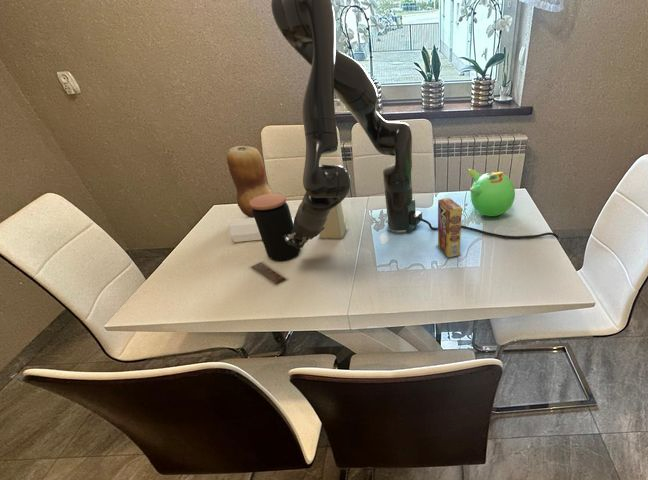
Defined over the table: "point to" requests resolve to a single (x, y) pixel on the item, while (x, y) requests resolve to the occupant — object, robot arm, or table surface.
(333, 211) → the beige tall block
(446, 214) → the candy box
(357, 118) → the robot arm
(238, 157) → the butternut squash
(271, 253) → the coffee jar
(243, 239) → the crystal
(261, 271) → the walnut ruler
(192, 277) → the table surface
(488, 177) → the toy bird
